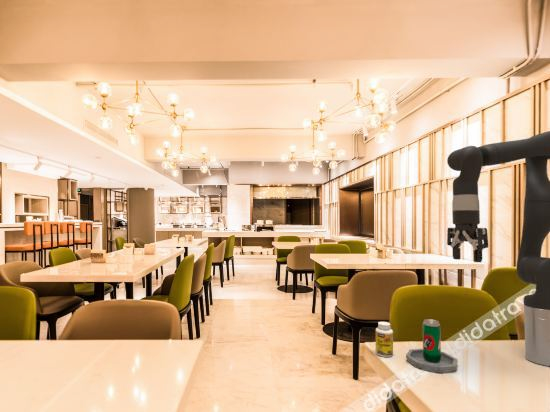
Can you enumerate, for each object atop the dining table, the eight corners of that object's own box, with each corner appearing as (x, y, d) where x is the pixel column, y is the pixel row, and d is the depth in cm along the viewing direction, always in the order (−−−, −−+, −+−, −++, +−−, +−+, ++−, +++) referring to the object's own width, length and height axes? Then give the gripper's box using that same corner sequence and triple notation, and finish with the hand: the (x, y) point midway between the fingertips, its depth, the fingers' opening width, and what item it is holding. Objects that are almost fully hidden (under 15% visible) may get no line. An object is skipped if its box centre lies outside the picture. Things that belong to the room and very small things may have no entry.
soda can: (443, 364, 100) (442, 323, 100) (425, 362, 101) (424, 322, 102) (438, 357, 105) (437, 319, 105) (421, 356, 106) (420, 318, 106)
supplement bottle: (375, 356, 108) (374, 324, 108) (376, 350, 113) (376, 320, 114) (393, 358, 106) (392, 326, 106) (393, 352, 111) (393, 321, 112)
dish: (435, 353, 111) (435, 347, 111) (468, 371, 97) (467, 364, 98) (398, 355, 108) (398, 350, 108) (426, 374, 95) (426, 368, 95)
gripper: (494, 208, 99) (496, 263, 98) (459, 210, 113) (460, 258, 112) (473, 208, 97) (474, 263, 96) (439, 210, 111) (440, 258, 110)
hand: (466, 260), depth 104 cm, fingers open, 8 cm apart
